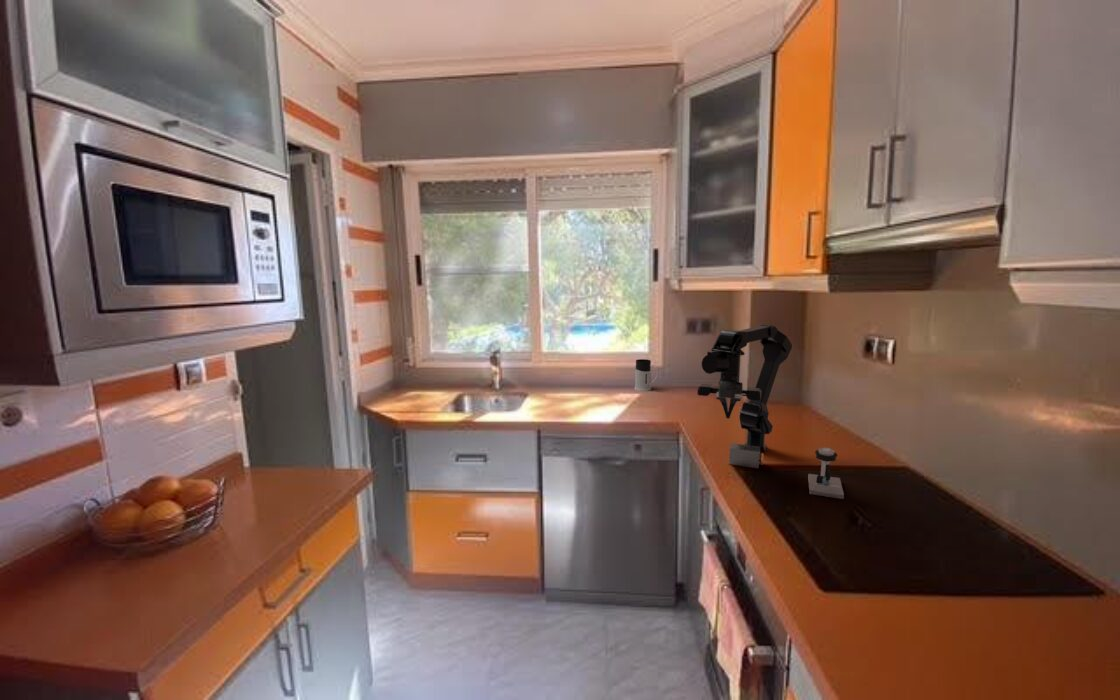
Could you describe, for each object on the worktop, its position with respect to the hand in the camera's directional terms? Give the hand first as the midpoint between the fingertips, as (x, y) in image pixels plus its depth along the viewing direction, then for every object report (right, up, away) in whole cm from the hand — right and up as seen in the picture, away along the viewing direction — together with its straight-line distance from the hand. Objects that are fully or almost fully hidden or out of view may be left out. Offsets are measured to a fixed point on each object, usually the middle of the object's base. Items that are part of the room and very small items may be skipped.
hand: (728, 418), depth 161 cm
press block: (+4, -14, -4) cm, 15 cm away
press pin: (+5, -13, -4) cm, 15 cm away
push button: (+19, -15, -22) cm, 33 cm away
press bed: (+19, -16, -22) cm, 33 cm away
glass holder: (-9, +1, +98) cm, 99 cm away
